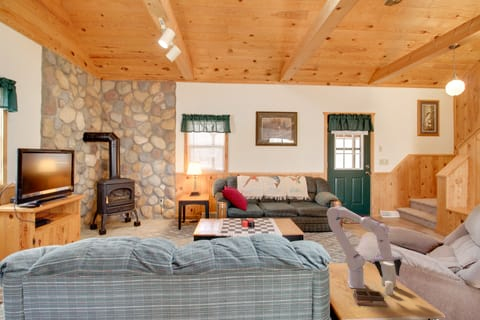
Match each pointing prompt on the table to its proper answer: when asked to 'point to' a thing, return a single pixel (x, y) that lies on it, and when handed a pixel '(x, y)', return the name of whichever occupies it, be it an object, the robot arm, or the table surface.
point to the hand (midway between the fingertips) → (389, 275)
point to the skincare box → (388, 273)
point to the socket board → (369, 298)
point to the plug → (389, 288)
